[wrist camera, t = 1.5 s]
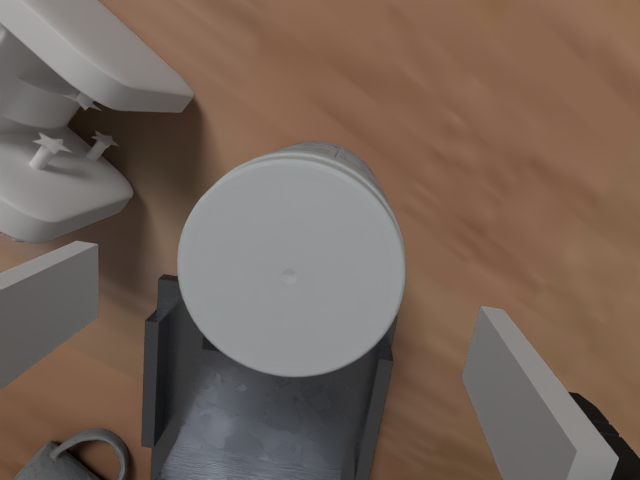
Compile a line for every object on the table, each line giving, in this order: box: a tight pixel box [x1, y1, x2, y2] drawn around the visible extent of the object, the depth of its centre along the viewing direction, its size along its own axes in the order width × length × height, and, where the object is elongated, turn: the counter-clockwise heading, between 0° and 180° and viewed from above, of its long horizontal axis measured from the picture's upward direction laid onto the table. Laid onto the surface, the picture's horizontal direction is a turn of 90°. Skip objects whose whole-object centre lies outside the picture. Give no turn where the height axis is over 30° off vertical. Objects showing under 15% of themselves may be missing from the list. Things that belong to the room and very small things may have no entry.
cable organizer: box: [0, 0, 194, 243], centre depth 25 cm, size 15×11×12 cm
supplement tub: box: [177, 142, 406, 377], centre depth 24 cm, size 10×10×15 cm
